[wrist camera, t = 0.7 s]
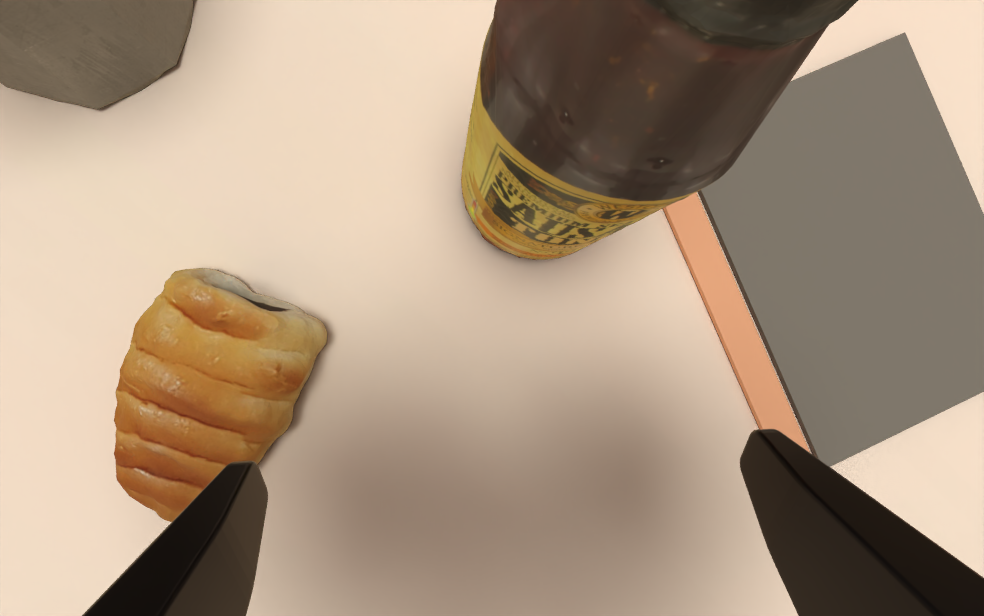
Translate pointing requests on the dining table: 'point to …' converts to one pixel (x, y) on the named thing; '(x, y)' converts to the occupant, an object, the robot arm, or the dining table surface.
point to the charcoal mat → (858, 250)
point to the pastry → (207, 385)
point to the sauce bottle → (620, 108)
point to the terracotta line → (731, 318)
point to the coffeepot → (90, 46)
